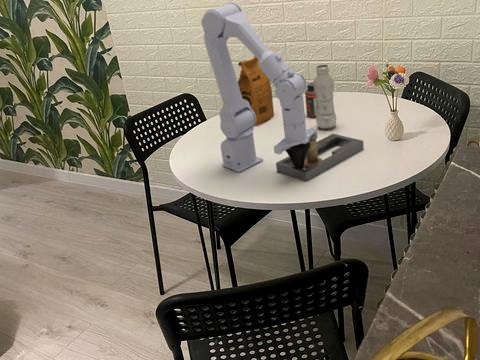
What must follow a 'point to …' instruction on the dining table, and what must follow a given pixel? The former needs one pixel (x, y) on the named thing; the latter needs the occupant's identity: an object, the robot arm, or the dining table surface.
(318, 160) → the peg
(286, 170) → the keyhole plate
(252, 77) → the coffee package
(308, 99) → the supplement bottle
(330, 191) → the dining table surface
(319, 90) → the plastic bottle
